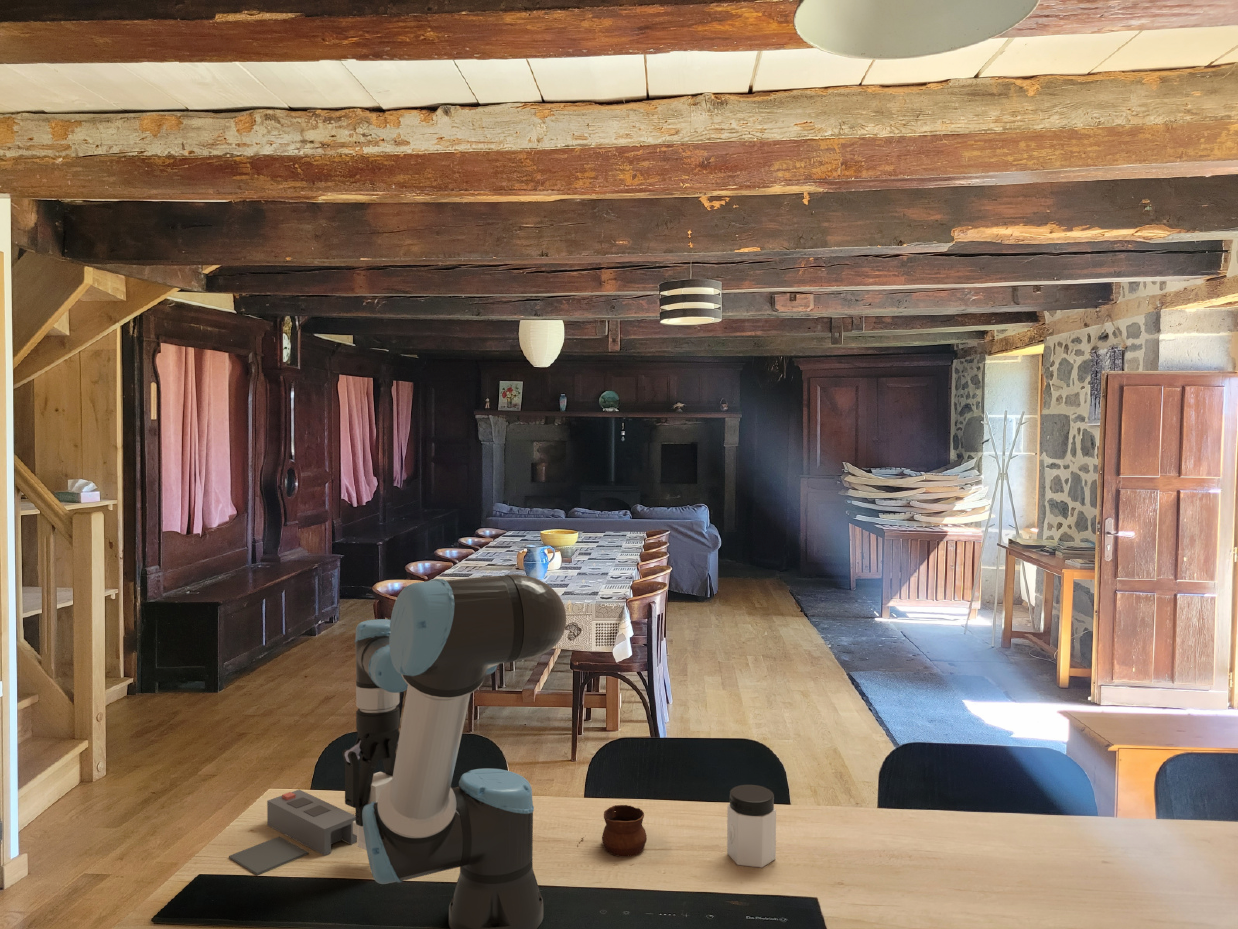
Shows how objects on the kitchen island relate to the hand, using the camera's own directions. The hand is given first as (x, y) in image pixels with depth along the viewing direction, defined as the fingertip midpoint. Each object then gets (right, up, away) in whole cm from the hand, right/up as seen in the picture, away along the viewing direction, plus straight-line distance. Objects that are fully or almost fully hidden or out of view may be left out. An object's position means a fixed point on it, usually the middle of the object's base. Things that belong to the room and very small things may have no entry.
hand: (379, 836), depth 153 cm
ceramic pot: (+44, -7, +9) cm, 46 cm away
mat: (-22, -6, +5) cm, 23 cm away
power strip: (-17, -6, +14) cm, 23 cm away
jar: (+68, -7, +6) cm, 68 cm away
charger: (-1, -2, +1) cm, 2 cm away
